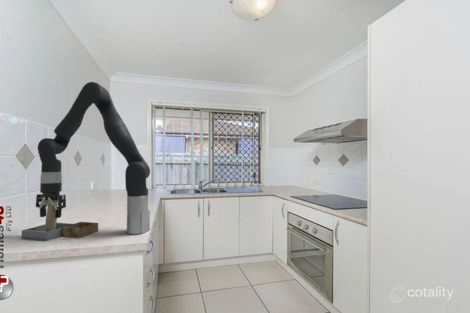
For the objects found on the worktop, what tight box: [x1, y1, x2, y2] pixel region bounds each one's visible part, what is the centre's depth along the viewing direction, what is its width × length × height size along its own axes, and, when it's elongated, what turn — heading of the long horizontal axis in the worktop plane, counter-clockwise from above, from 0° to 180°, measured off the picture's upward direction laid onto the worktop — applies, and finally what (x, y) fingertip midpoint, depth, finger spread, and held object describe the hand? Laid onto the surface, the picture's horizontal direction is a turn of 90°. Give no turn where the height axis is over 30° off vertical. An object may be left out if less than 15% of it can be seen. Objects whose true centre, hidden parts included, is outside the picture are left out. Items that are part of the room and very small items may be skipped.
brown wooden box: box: [61, 221, 99, 239], centre depth 100 cm, size 10×9×4 cm
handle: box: [45, 200, 58, 232], centre depth 99 cm, size 5×6×15 cm
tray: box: [21, 222, 72, 242], centre depth 99 cm, size 14×13×4 cm
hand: (50, 217), depth 99 cm, fingers open, 8 cm apart
